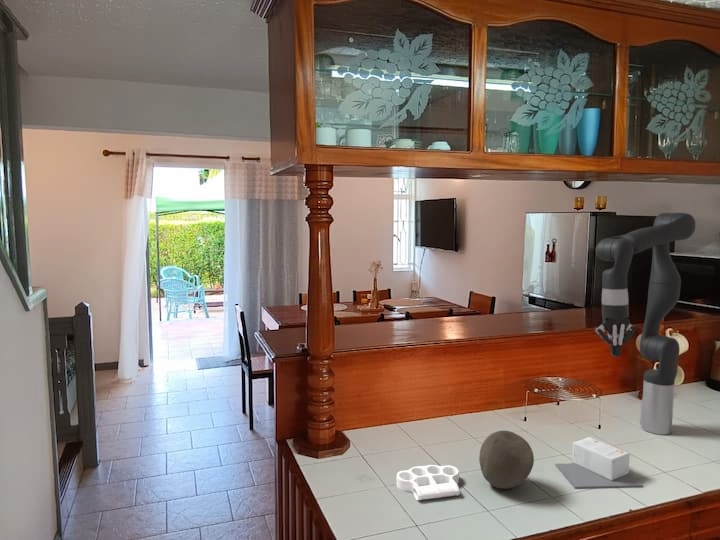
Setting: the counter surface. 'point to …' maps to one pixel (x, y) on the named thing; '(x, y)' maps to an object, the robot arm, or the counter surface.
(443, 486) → the knuckle duster
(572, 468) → the mat
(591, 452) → the small box
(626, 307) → the robot arm
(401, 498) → the counter surface
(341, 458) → the counter surface
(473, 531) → the counter surface
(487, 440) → the cantaloupe
